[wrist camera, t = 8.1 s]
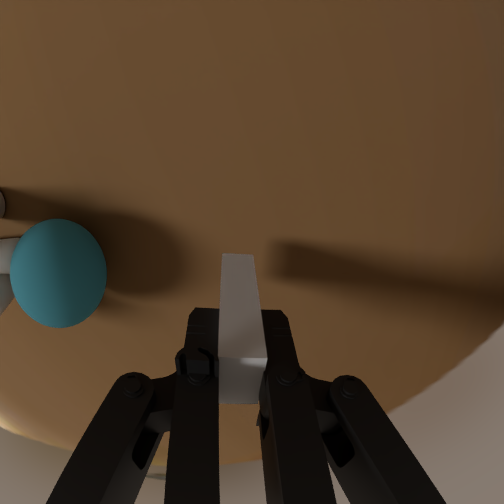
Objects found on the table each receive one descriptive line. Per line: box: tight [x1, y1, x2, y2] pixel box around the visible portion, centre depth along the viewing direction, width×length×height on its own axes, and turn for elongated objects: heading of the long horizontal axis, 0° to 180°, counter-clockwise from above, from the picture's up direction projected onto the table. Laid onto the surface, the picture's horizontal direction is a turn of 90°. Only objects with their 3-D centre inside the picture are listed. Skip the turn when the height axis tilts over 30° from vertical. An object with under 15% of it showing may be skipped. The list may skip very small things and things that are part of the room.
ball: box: [10, 219, 107, 328], centre depth 13 cm, size 6×6×6 cm
